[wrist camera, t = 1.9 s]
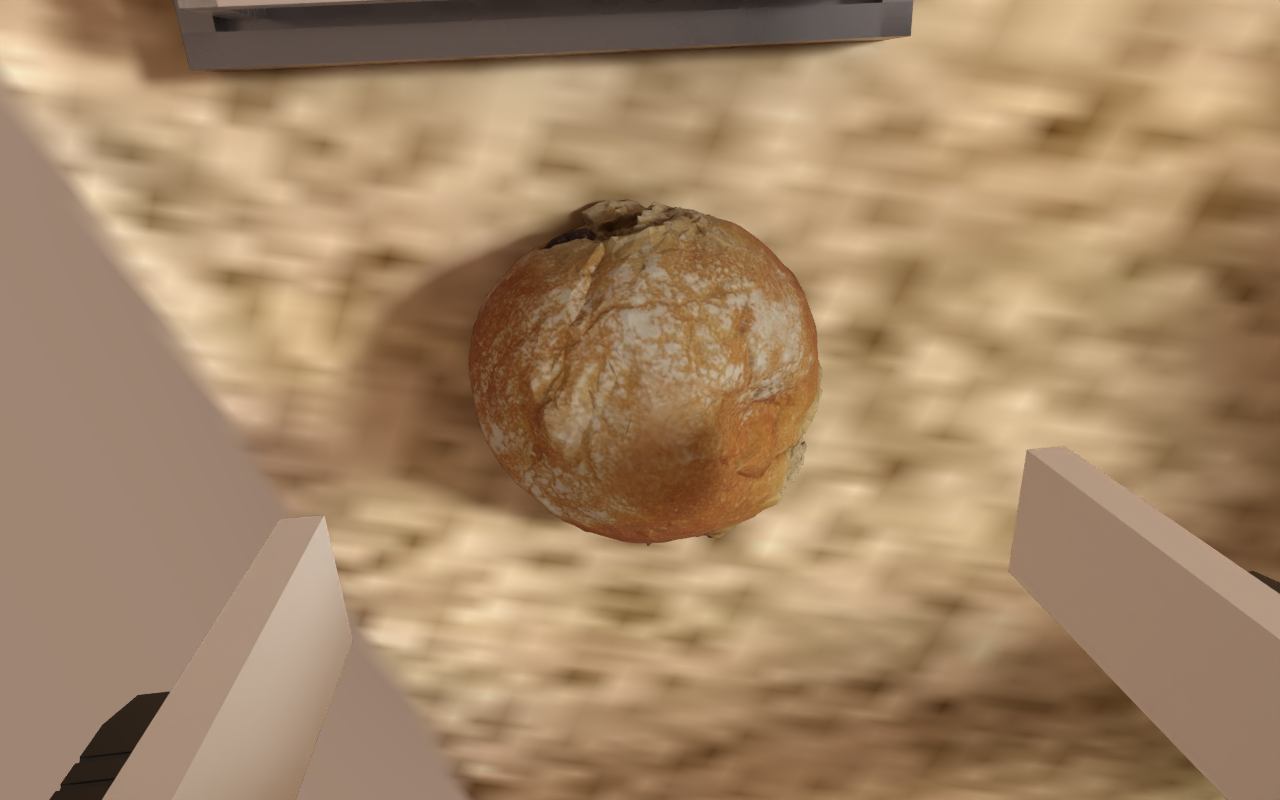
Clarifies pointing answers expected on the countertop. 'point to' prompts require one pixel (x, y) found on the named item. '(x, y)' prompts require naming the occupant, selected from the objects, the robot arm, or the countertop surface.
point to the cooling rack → (509, 28)
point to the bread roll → (648, 373)
